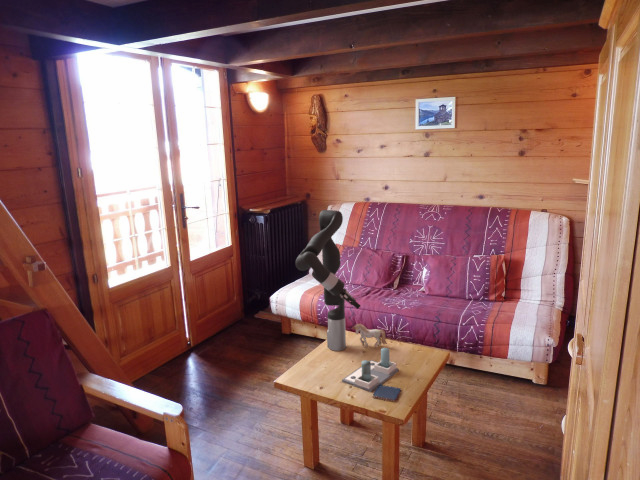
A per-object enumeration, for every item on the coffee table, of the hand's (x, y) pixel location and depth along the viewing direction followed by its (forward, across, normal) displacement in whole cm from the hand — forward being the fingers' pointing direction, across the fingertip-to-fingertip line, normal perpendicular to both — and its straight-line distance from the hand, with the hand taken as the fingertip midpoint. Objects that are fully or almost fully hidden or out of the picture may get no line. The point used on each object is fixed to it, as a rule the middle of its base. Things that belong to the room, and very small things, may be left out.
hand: (356, 304), depth 215 cm
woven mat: (+28, -26, +20) cm, 43 cm away
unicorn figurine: (+31, +20, +16) cm, 40 cm away
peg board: (+26, -9, +21) cm, 34 cm away
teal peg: (+22, -16, +23) cm, 36 cm away
